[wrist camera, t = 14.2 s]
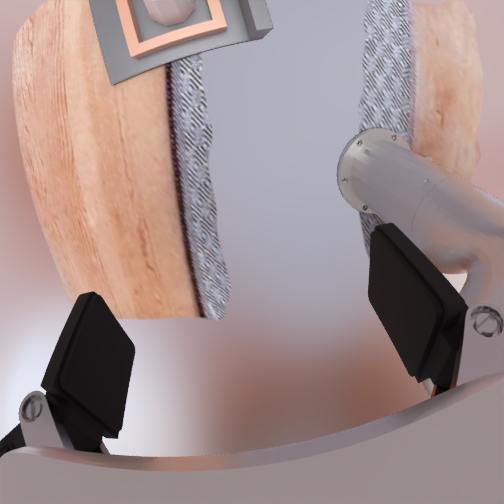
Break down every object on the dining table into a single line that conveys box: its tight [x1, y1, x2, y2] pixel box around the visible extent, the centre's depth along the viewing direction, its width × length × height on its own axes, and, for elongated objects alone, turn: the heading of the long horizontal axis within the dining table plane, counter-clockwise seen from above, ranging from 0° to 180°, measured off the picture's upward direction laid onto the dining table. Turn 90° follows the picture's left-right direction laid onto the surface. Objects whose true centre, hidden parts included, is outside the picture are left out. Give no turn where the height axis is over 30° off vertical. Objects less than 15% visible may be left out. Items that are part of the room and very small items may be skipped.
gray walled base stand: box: [89, 0, 273, 85], centre depth 20 cm, size 18×14×7 cm
